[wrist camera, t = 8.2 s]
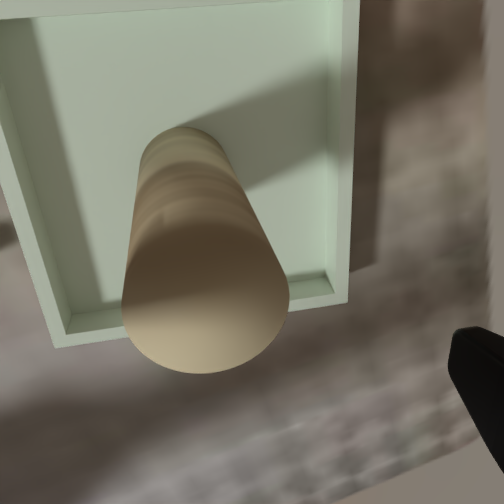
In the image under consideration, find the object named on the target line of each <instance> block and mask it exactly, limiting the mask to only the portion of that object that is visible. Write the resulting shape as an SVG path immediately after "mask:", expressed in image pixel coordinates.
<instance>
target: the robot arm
mask: <svg viewBox="0 0 504 504" xmlns="http://www.w3.org/2000/svg"><path fill="white" fill-rule="evenodd" d="M448 371H449V375H450V377H451V380H452V381H453V383H454V385H455V387H456V389H457V391H458V393H459V395H460V397H461V399H462V400H463V402H464V404H465V406H466V408H467V410H468V412H469V414H470V416H471V418H472V419H473V421H474V423H475V425H476V427H477V429H478V431H479V433H480V435H481V437H482V438H483V440H484V442H485V444H486V446H487V447H488V449H489V451H490V453H491V454H492V456H493V458H494V459H495V461H496V462H497V464H498V466H499V467H500V469H501V470H502V472H503V473H504V337H503V336H500V335H498V334H496V333H493V332H491V331H489V330H486V329H484V328H482V327H478V326H473V327H467V328H461V329H458V330H456V331H455V332H454V334H453V337H452V342H451V348H450V354H449V359H448Z"/></svg>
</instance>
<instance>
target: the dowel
mask: <svg viewBox="0 0 504 504" xmlns="http://www.w3.org/2000/svg"><path fill="white" fill-rule="evenodd" d="M289 300H290V293H289V285H288V282H287V278H286V275H285V273H284V271H283V269H282V267H281V265H280V263H279V261H278V259H277V257H276V255H275V253H274V251H273V248H272V246H271V244H270V242H269V240H268V238H267V236H266V234H265V232H264V230H263V228H262V226H261V224H260V222H259V220H258V218H257V216H256V214H255V212H254V210H253V208H252V206H251V204H250V202H249V200H248V198H247V196H246V194H245V192H244V190H243V188H242V186H241V184H240V182H239V180H238V178H237V176H236V174H235V172H234V170H233V168H232V166H231V164H230V162H229V160H228V158H227V156H226V154H225V152H224V150H223V148H222V147H221V145H220V144H219V143H218V141H217V140H215V139H214V138H213V137H212V136H211V135H209V134H208V133H206V132H204V131H202V130H199V129H196V128H191V127H176V128H172V129H168V130H166V131H164V132H162V133H160V134H158V135H157V136H156V137H154V138H153V139H152V140H151V141H150V142H149V144H148V145H147V146H146V148H145V150H144V152H143V154H142V157H141V160H140V166H139V173H138V181H137V188H136V196H135V203H134V211H133V218H132V226H131V233H130V241H129V248H128V256H127V263H126V271H125V278H124V286H123V293H122V300H121V313H122V320H123V324H124V327H125V330H126V332H127V334H128V336H129V338H130V339H131V341H132V342H133V344H134V345H135V346H136V347H137V348H138V349H139V350H140V352H141V353H143V354H144V355H145V356H146V357H148V358H149V359H150V360H152V361H154V362H155V363H157V364H159V365H161V366H164V367H166V368H169V369H172V370H175V371H180V372H185V373H196V374H197V373H213V372H219V371H224V370H227V369H231V368H234V367H236V366H239V365H241V364H243V363H245V362H247V361H249V360H250V359H252V358H254V357H255V356H257V355H258V354H259V353H261V352H262V351H263V350H264V349H265V348H266V347H267V346H269V345H270V343H271V342H272V341H273V340H274V339H275V337H276V336H277V335H278V333H279V332H280V330H281V328H282V326H283V324H284V322H285V319H286V316H287V314H288V309H289Z"/></svg>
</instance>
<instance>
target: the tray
mask: <svg viewBox="0 0 504 504" xmlns="http://www.w3.org/2000/svg"><path fill="white" fill-rule="evenodd" d="M359 13H360V0H0V183H1V186H2V189H3V192H4V195H5V198H6V202H7V205H8V208H9V211H10V214H11V217H12V220H13V223H14V226H15V229H16V232H17V235H18V238H19V241H20V244H21V247H22V250H23V253H24V256H25V259H26V262H27V265H28V268H29V271H30V274H31V278H32V281H33V284H34V287H35V290H36V293H37V296H38V299H39V302H40V305H41V308H42V311H43V314H44V317H45V320H46V323H47V326H48V329H49V332H50V335H51V338H52V341H53V344H54V347H55V348H62V347H68V346H74V345H81V344H87V343H93V342H100V341H106V340H113V339H119V338H125V337H129V336H128V334H127V332H126V330H125V327H124V324H123V320H122V313H121V300H122V293H123V286H124V278H125V271H126V263H127V256H128V248H129V241H130V233H131V226H132V218H133V211H134V203H135V196H136V188H137V181H138V173H139V166H140V160H141V157H142V154H143V152H144V150H145V148H146V146H147V145H148V144H149V142H150V141H151V140H152V139H153V138H154V137H156V136H157V135H158V134H160V133H162V132H164V131H166V130H168V129H172V128H176V127H191V128H196V129H199V130H202V131H204V132H206V133H208V134H209V135H211V136H212V137H213V138H214V139H215V140H217V141H218V143H219V144H220V145H221V147H222V148H223V150H224V152H225V154H226V156H227V158H228V160H229V162H230V164H231V166H232V168H233V170H234V172H235V174H236V176H237V178H238V180H239V182H240V184H241V186H242V188H243V190H244V192H245V194H246V196H247V198H248V200H249V202H250V204H251V206H252V208H253V210H254V212H255V214H256V216H257V218H258V220H259V222H260V224H261V226H262V228H263V230H264V232H265V234H266V236H267V238H268V240H269V242H270V244H271V246H272V248H273V251H274V253H275V255H276V257H277V259H278V261H279V263H280V265H281V267H282V269H283V271H284V273H285V275H286V278H287V282H288V285H289V293H290V300H289V309H288V312H291V311H298V310H304V309H310V308H317V307H323V306H330V305H336V304H342V303H348V280H349V256H350V232H351V207H352V183H353V159H354V134H355V110H356V86H357V61H358V37H359Z"/></svg>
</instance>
